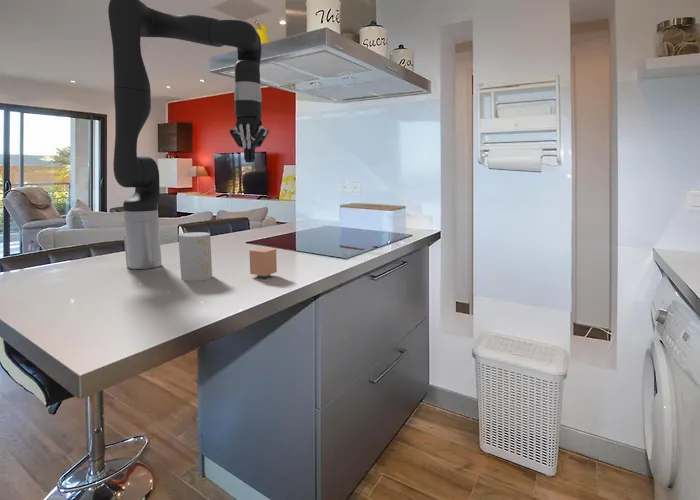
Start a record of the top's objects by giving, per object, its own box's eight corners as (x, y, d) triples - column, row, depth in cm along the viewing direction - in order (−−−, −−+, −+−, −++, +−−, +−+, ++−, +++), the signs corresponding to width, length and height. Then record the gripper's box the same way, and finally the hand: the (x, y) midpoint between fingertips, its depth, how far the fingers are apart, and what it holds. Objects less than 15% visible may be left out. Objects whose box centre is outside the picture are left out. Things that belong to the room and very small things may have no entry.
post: (257, 277, 118) (256, 252, 116) (262, 275, 120) (262, 250, 119) (264, 278, 117) (264, 253, 115) (270, 276, 119) (269, 251, 118)
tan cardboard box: (250, 273, 117) (249, 250, 116) (261, 270, 122) (261, 247, 120) (265, 276, 115) (264, 252, 114) (276, 272, 119) (276, 249, 118)
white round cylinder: (202, 281, 112) (199, 237, 110) (174, 279, 114) (172, 235, 112) (217, 274, 120) (215, 232, 118) (191, 273, 122) (189, 231, 120)
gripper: (221, 99, 120) (223, 162, 123) (258, 97, 115) (260, 162, 118) (238, 103, 127) (240, 162, 130) (274, 101, 121) (275, 162, 124)
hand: (249, 162), depth 124 cm, fingers closed
